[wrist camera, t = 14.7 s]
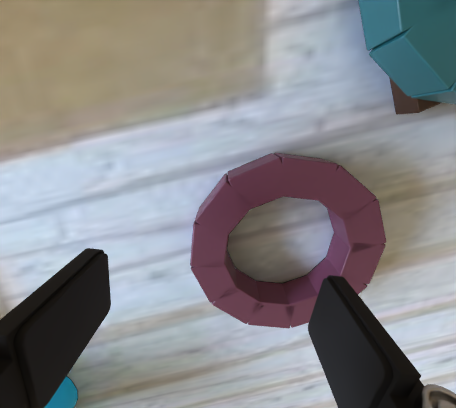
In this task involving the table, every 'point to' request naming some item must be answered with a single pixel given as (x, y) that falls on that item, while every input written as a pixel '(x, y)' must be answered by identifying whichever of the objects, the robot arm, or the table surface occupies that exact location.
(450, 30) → the teal ring
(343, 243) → the plum ring
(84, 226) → the table surface
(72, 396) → the mug
